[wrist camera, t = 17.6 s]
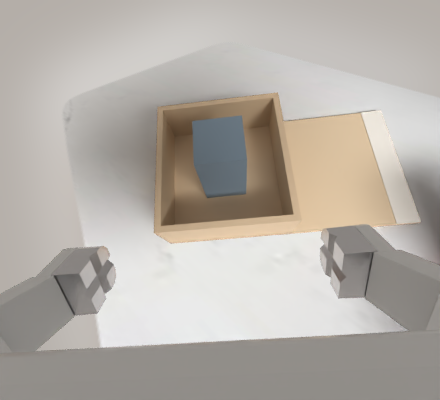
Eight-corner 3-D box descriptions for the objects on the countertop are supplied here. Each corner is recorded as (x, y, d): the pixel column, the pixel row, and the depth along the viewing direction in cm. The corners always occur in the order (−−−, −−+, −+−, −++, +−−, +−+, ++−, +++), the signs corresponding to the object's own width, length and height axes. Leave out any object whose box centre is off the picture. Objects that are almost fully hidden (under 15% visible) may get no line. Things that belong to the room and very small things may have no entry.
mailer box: (378, 112, 30) (406, 77, 25) (418, 223, 26) (462, 206, 20) (171, 135, 32) (157, 106, 27) (170, 243, 27) (153, 233, 22)
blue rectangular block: (242, 159, 29) (241, 115, 22) (246, 194, 28) (247, 159, 20) (205, 163, 30) (192, 120, 22) (207, 197, 28) (193, 165, 21)
